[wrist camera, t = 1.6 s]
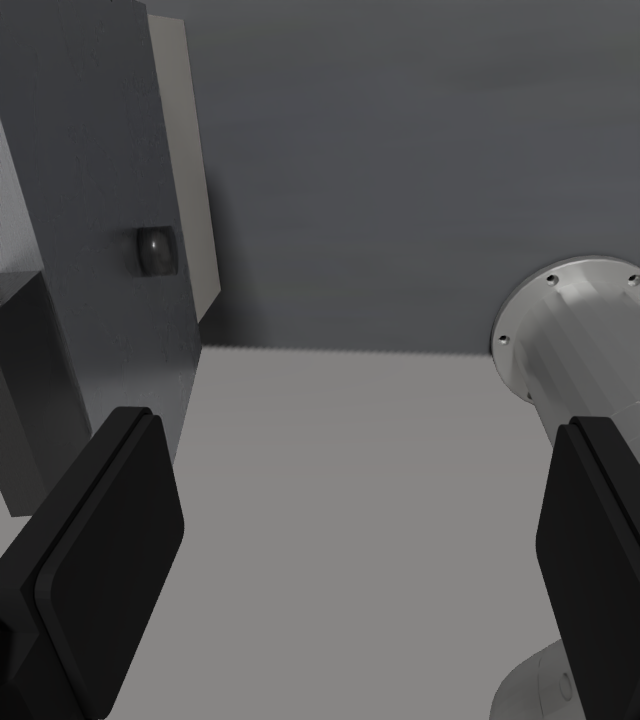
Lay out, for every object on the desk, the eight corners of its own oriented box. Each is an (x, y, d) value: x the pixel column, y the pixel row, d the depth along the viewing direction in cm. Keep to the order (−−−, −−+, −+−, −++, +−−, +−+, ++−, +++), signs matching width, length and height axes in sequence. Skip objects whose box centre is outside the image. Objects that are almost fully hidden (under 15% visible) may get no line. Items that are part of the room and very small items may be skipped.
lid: (119, 5, 26) (171, 3, 26) (182, 349, 35) (220, 346, 35) (-268, -125, 7) (-83, -130, 8) (78, 685, 16) (161, 676, 16)
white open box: (183, 20, 35) (125, 11, 27) (220, 290, 43) (184, 343, 35) (-81, 35, 36) (-208, 30, 29) (5, 290, 45) (-74, 340, 37)
